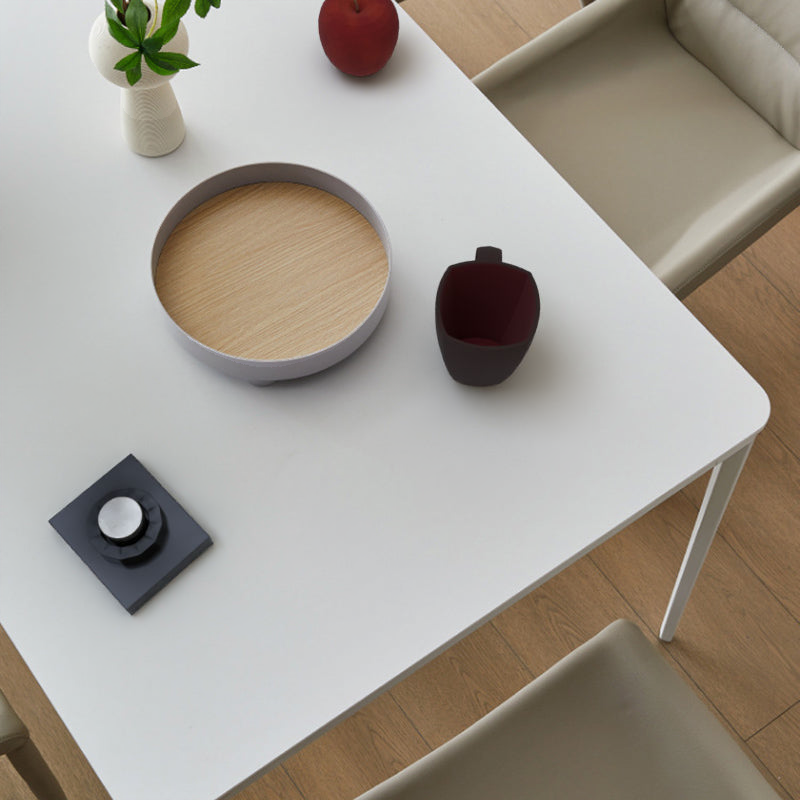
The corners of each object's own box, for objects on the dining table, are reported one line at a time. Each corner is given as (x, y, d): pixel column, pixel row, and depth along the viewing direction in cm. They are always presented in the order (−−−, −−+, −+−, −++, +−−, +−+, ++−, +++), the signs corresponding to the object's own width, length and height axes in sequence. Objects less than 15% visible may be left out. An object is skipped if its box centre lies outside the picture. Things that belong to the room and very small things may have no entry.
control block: (54, 528, 98) (41, 514, 95) (135, 460, 102) (126, 445, 98) (131, 615, 95) (121, 605, 91) (213, 543, 98) (207, 530, 94)
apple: (410, 47, 125) (412, -18, 116) (380, 103, 121) (380, 40, 112) (339, 25, 127) (336, -41, 118) (308, 79, 123) (301, 16, 114)
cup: (427, 400, 105) (431, 345, 94) (436, 286, 111) (441, 221, 100) (523, 408, 104) (539, 354, 94) (527, 293, 110) (542, 229, 100)
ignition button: (94, 523, 95) (89, 516, 93) (128, 495, 96) (123, 488, 94) (121, 553, 94) (116, 546, 92) (155, 524, 95) (151, 517, 93)
